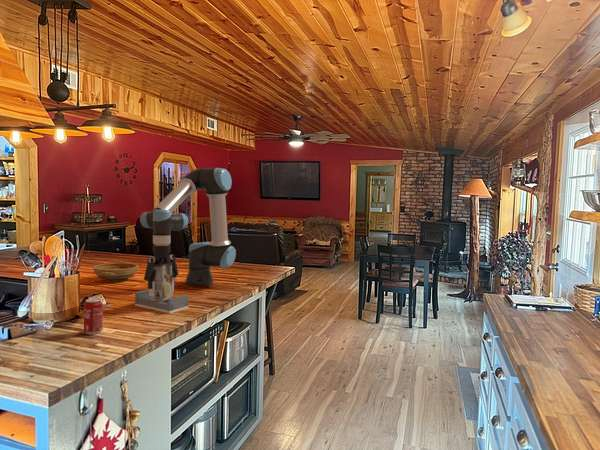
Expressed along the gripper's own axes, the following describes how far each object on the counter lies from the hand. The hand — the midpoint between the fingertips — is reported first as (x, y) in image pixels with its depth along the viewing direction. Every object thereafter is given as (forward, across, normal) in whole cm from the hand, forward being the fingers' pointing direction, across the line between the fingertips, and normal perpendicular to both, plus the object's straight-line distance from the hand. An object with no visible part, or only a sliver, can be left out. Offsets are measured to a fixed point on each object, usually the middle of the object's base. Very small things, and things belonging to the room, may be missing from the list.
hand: (161, 293), depth 197 cm
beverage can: (+6, +38, +7) cm, 40 cm away
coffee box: (+3, 0, 0) cm, 3 cm away
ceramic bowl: (+6, -26, -65) cm, 70 cm away
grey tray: (+6, 0, 0) cm, 6 cm away
